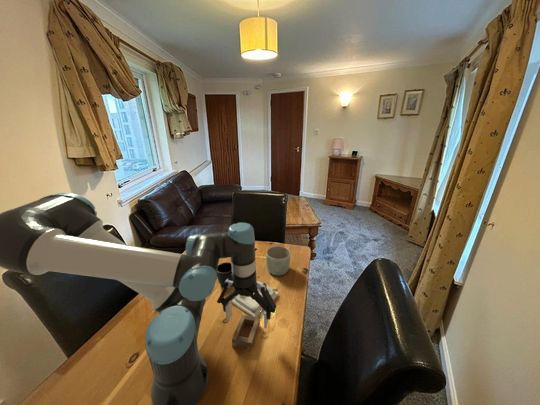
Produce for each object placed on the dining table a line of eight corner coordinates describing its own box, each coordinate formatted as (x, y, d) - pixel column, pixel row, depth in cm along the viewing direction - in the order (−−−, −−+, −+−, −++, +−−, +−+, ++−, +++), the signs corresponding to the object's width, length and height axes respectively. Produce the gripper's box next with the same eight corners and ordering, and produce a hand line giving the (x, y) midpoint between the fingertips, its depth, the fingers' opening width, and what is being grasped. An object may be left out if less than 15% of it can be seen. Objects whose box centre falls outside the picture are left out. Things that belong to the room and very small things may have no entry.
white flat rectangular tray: (254, 318, 84) (254, 313, 83) (231, 302, 91) (231, 297, 90) (278, 294, 96) (278, 290, 95) (256, 282, 103) (256, 278, 102)
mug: (228, 297, 94) (227, 280, 91) (214, 284, 102) (212, 267, 99) (243, 288, 99) (242, 271, 96) (229, 276, 107) (227, 260, 104)
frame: (251, 350, 72) (251, 343, 71) (232, 346, 73) (231, 338, 72) (259, 325, 81) (259, 318, 80) (242, 321, 82) (241, 314, 81)
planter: (290, 264, 117) (291, 247, 113) (288, 279, 105) (289, 260, 102) (268, 262, 119) (268, 244, 115) (263, 276, 107) (263, 257, 104)
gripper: (284, 268, 69) (284, 318, 76) (213, 259, 74) (219, 307, 81) (280, 284, 62) (280, 338, 69) (202, 272, 67) (209, 324, 74)
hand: (247, 321), depth 75 cm, fingers open, 13 cm apart
